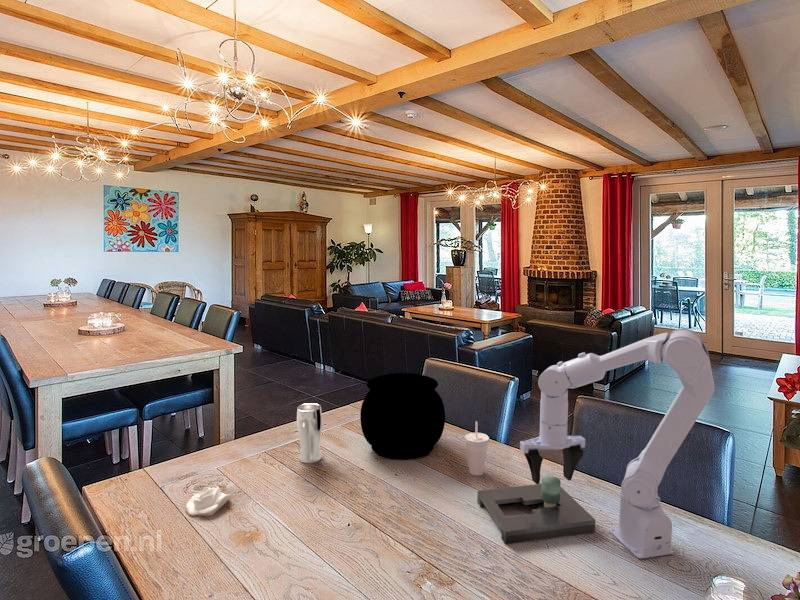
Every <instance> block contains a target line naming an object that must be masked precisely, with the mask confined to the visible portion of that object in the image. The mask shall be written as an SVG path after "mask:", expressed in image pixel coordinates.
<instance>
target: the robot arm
mask: <svg viewBox="0 0 800 600" xmlns="http://www.w3.org/2000/svg"><path fill="white" fill-rule="evenodd" d="M663 360H664V361H665V362H666V363H667V365H668V366H669V367H670V368H671V369H672V370H673V371H674V372H675V373H676V375H677V376H678V379H679V380H680V383H681V385H682V386H681V388H680V389H679V391H678V393H677V395H676V396H675V398H674V400H673V401H672V403H671V405H670V406H669V408H668V410H667V411H666V413H665V415H664V417H663V418H662V419H661V421H660V422H659V425H658V426H657V428H656V430H655V431H654V433H653V434H652V435H651V438H650V439H649V441H648V443H647V445H646V446H645V448H644V449H642V451H641V452H640V454H639V455H638V457H636V458H634V459H632V460H631V461H629V462H628V464H627V465H626V468H625V469H626V471H625V475H624V478H623V480H622V481H621V485H620V495H619V515H618V526H613V527H609V528H608V531H609V532H610V533H611V534H612V536H614V537H615V538H616V539H617V540H618V541H619V542H620V543H621V544H622V545H624V547H626V548H627V550H629V551H630V553H632V554H633V555H634V556H635V557H636V558H637V559H647V558H654V557H660V556H666V555H667V556H668V555H673V554H674V553H675V551H674V549H673V548H672V547H671V546H672V531H673V524H672V520H671V519H670V517H669V516H668V515H667V514H666V512H664V510H663V507H662V505H661V497H660V496H659V494H658V489H659V485H660V484H661V482H662V480H663V477H664V475H665V473H666V470H667V467H668V466H669V464H670V463H671V461H672V459H673V458H674V456H675V455H676V453H677V452H678V450H679V448H680V447H681V445H682V443H683V442H684V440H685V439H686V438H687V436H688V434H689V433H690V431H691V430H692V428H693V426H694V425H695V423H696V421H697V420H698V418H699V417H700V415H701V414H702V412H703V410H704V408H705V406H706V405H707V403H708V402H709V400H710V399H711V398H712V396H713V394H714V393H715V389H716V388H715V381H714V377H713V370H712V366H711V361H710V354H709V349H708V347H707V346H706V344H705V342H704V340H703V339H702V338H701V336H700V335H699V334H698V333H697V332H696V331H695V330H692V329H689V328H677V329H675V330H672V331H671V332H670V333H669V332H667V331H666V332H662V333H658V334H656V335H655V334H654V335H652V336H649V337H646V338H643V339H641V340H638V341H635V342H633V343H630V344H628V345H626V346H624V347H623V346H622V347H619V348H617V349H616V350H612V351H610V352H608V353H605V354H602V355H598V354H596V353H593V352H590V353H586V352H585V351H584V352H581V353H578V355H577V357H576V358H572V359H570V360H567V361H562V360H561V361H560V360H559V362H557V363H556V364H553V365H550V366H548V367H547V368H546V369H545V370H544V371H542V373H541V374H540V375H539V376H538V380H537V385H538V389H540V402H539V403H540V405H539V408H540V409H539V410H540V411H539V436H537V437H533V438H530V439H527V440H520V441H519V449H520V451H521V452H522V453H523V455H524V457H525V459H526V462H527V464H528V467H529V471H530V474H531V475H530V476H531V480H532V481H533V482H534V483H535V484H541V483H540V482H541V468H542V463H543V460H544V458H543V457H542V456H541V455H540V451H548V450H562V457H563V471H562V472H563V477H564V478H565V479H566V480H568V481H572V478H573V475H574V473H575V469H576V467H577V465H578V464H579V462H580V460H581V459H582V458H583V457H584V450H583V449H582V448H586V439H585V437H583V436H582V435H568V420H569V415H568V413H569V400H568V399H569V397H568V396H569V389H571V390H572V389H577V388H579V387H583V386H587V385H589V384H592V383H595V382H598V381H601V380H603V379H604V377H605V375H606V372H608V371H612V370H615V369H618V368H621V367H624V366H629V365H632V364H635V363H639V362H643V361H648V362H652V363H655V364H658V365H662V364H663Z"/></svg>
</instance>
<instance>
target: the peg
mask: <svg viewBox="0 0 800 600" xmlns="http://www.w3.org/2000/svg"><path fill="white" fill-rule="evenodd" d="M540 484H541V499H542V500H543V501H544V503H541V504H540V505H539V506H538V508H537V509H542V508H550V507H558V506H557V505H556V503H559V502H560V486H561V478H560V479H559V477H556V476H553V475H544V476H542V477H541V483H540Z"/></svg>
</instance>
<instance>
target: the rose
mask: <svg viewBox="0 0 800 600" xmlns="http://www.w3.org/2000/svg"><path fill="white" fill-rule="evenodd" d="M231 497H232V495H231V494H228V493H227V494H226V493H224V492H222V490H221V489H220V487H219V486H217V485H216V487H209V486H206V487H204V488H202V489H201V490H200V492H199V493H196V494H193V496H192V497H191V498H190V499H189V500H188V501H187V503H186V504H185V505H186V506H185V510H186V513H188V515H189V516H190V515H191V517H193V516H195V517H196V515H198V516H200V515H203V516H204V517H205V516H206V517H210V516H213V515H214V514H215V513H216V512H218V510H219V509H221V508H222V507H223V506H224V505H226V504H227V502H228V501H229V500H230V499H231Z"/></svg>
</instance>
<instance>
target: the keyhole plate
mask: <svg viewBox="0 0 800 600" xmlns="http://www.w3.org/2000/svg"><path fill="white" fill-rule="evenodd" d="M541 484H542V483H539V484H536V483H535V484H527V485H518V486H510V487H509V486H508V487H501V488H493V489H492V488H491V489H483V490H477V492H476V493H477V494H476V495H477V498H476V499H477V500H476V503H477V504H478V506H479V507H485V508H486V510H487V511H488V513H489V514H490V516H491V517H492V519H493V520H494V522H495V523H496V525H498V527H499V529H500V530H501V533H500V534H501V536H500V537H501V538H500V539H501V540H502V542H503V543H504V545H505V546H506V545H512V544H520V543H526V542H535V541H536V542H537V541H541V540H548V539H557V538H563V537H565V538H566V537H570V536H579V535H586V534H592V533H596V519H595V518H594V517H593V516H592V515H591V514H590V513H589V512H588V511H587V510H586V509H585V508H584V507H583V506H581V504H580V503H578V502H577V500H576V499H575V498H573V496H571V495H570V493H568V492H567V491H566V490H565V489H564V488H563V487H562V486H561V485H560V502H559V503H556V506H557V507H550V508H542V509H538V508H535V509H531V514H530V513H528V514H521V515H514V516H513V515H512V516H506V515H505V513H504V512H503V511H502V509H501V508H500V506H499V505H507V504H514V503H515V504H516V503H522V504H523V506H529V505H536V504H544V501H543V500H542V499H541Z"/></svg>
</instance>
